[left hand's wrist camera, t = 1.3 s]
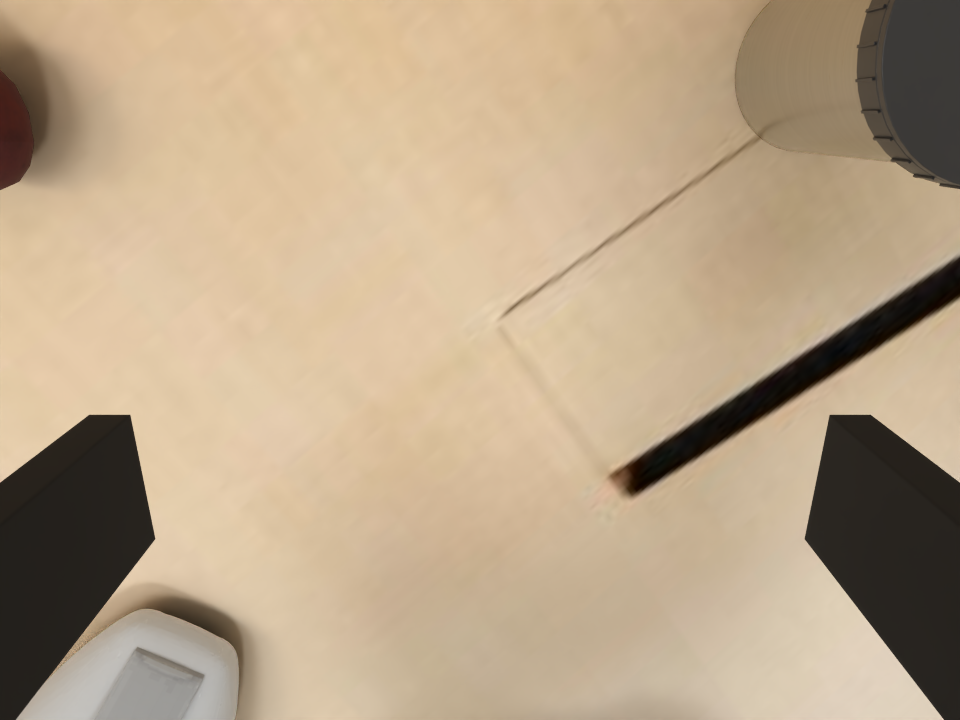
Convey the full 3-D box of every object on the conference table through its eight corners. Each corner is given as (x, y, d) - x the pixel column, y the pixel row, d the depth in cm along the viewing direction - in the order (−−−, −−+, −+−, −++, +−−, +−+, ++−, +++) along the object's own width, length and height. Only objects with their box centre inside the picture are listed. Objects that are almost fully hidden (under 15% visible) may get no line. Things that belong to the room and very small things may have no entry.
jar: (776, 182, 38) (946, 219, 24) (706, 45, 35) (850, -2, 22) (921, 90, 36) (1193, 74, 22) (858, -61, 34) (1119, -184, 20)
